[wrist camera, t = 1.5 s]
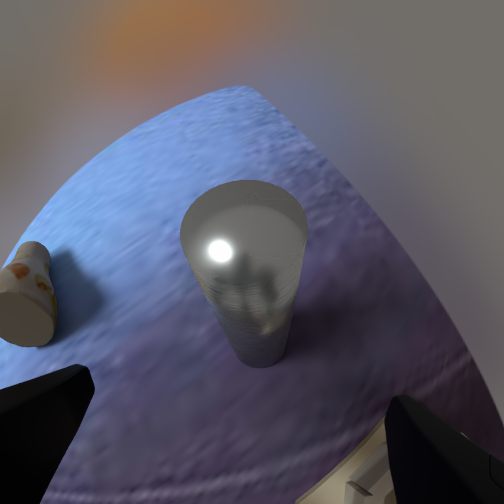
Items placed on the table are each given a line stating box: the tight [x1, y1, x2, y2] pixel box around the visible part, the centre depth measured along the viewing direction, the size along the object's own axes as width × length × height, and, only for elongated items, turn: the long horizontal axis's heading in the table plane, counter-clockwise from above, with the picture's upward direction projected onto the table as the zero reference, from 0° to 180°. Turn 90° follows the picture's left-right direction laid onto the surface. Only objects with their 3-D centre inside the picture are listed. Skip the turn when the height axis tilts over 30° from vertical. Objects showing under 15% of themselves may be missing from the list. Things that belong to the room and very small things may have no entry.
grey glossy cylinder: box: [180, 180, 308, 368], centre depth 14 cm, size 4×4×13 cm
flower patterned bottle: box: [0, 241, 58, 347], centre depth 19 cm, size 8×10×10 cm
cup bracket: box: [295, 416, 469, 504], centre depth 10 cm, size 10×10×5 cm
